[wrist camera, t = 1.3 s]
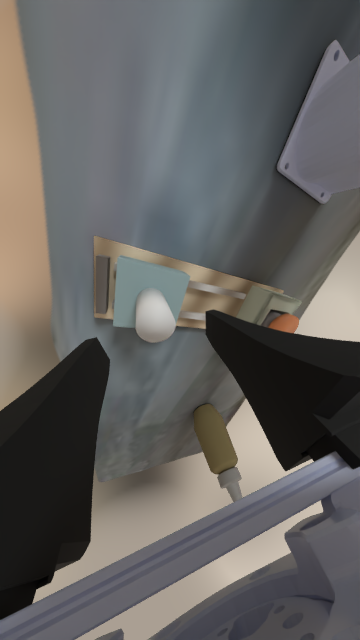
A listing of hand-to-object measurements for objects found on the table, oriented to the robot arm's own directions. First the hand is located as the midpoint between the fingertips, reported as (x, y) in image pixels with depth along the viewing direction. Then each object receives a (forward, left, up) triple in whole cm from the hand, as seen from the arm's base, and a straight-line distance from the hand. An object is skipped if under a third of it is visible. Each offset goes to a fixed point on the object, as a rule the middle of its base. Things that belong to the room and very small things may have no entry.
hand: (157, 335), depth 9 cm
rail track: (-8, 0, -10) cm, 13 cm away
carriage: (0, 0, -9) cm, 9 cm away
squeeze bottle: (-21, +32, -11) cm, 40 cm away
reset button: (-18, 0, -8) cm, 20 cm away
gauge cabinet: (-18, 0, -10) cm, 21 cm away
